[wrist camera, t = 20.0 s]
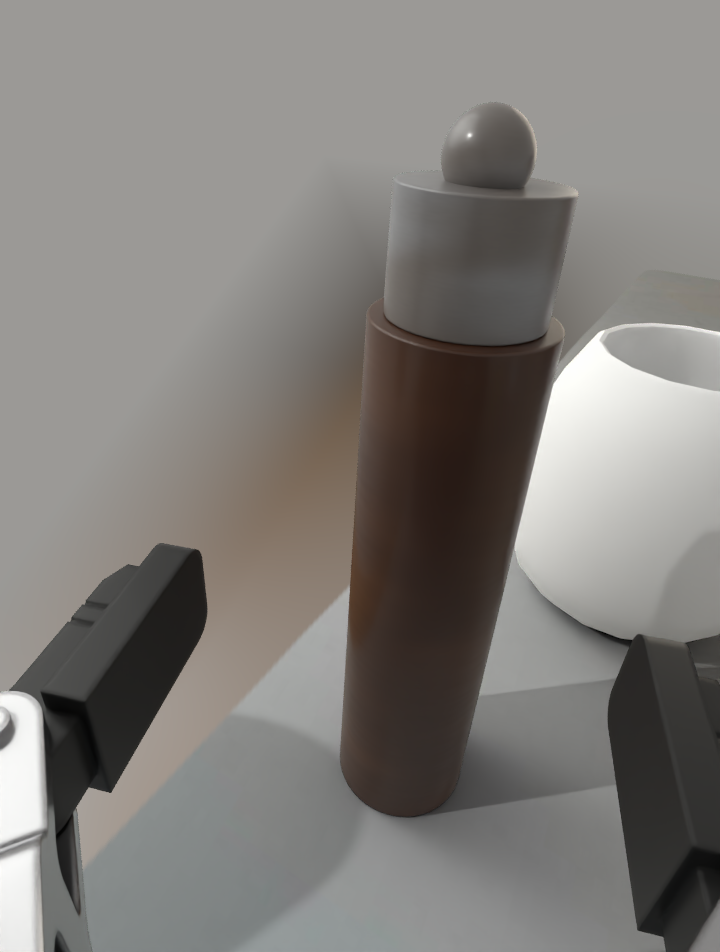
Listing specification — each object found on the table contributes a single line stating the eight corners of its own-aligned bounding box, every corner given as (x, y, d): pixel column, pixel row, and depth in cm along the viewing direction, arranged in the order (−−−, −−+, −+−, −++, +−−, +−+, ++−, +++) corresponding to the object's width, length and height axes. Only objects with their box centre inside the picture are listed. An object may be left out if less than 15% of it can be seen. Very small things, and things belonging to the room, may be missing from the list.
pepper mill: (326, 799, 23) (356, 95, 11) (354, 696, 27) (400, 94, 15) (454, 832, 22) (636, 113, 10) (464, 720, 26) (604, 108, 14)
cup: (607, 495, 42) (671, 297, 35) (801, 627, 32) (945, 390, 25) (447, 547, 36) (484, 323, 29) (623, 724, 27) (744, 455, 19)
